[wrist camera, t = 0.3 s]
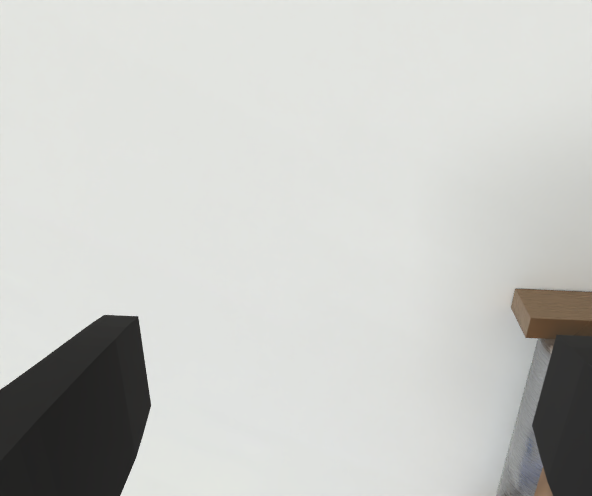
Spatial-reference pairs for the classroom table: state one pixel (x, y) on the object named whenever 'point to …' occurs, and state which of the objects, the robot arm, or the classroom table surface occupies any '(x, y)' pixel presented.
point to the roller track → (539, 374)
